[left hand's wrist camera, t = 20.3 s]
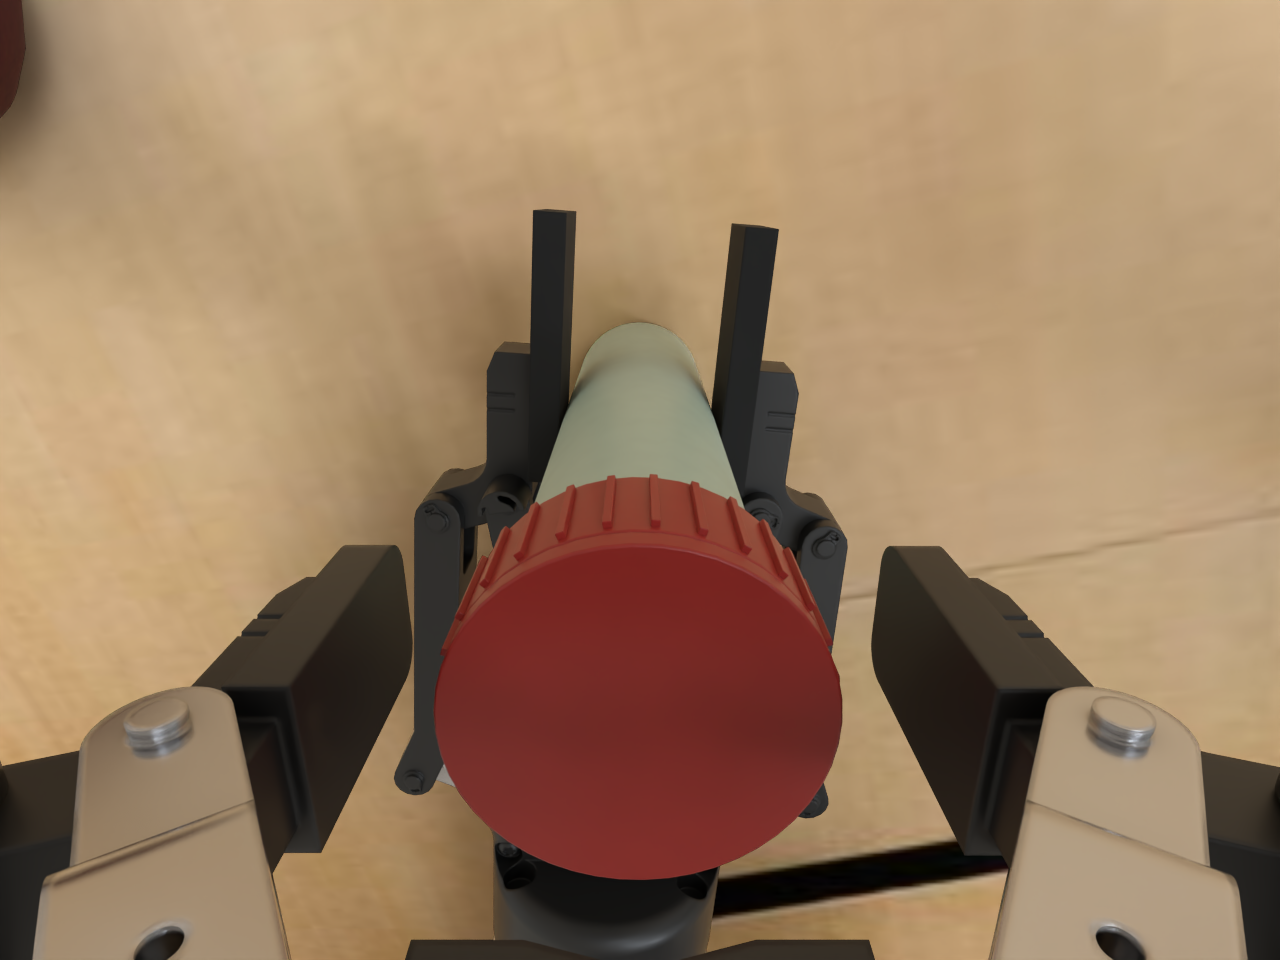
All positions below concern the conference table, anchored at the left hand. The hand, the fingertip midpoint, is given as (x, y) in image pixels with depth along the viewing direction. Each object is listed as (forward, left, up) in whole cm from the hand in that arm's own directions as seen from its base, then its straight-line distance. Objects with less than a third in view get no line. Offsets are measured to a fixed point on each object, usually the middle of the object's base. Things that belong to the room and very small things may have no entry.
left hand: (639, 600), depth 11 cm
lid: (0, 0, +2) cm, 2 cm away
